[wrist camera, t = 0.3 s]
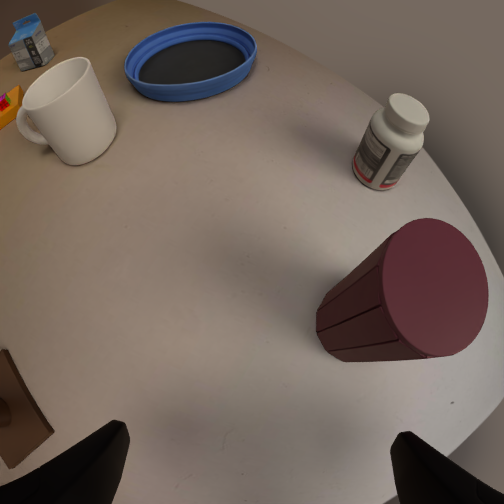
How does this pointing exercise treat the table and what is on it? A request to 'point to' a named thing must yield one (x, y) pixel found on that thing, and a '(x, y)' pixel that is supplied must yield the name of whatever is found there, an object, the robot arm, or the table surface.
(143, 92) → the bowl
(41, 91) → the mug
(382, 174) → the pill bottle
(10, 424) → the hat stand
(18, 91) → the orange slab with cube
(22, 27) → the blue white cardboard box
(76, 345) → the table surface
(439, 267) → the maroon grooved cylinder
